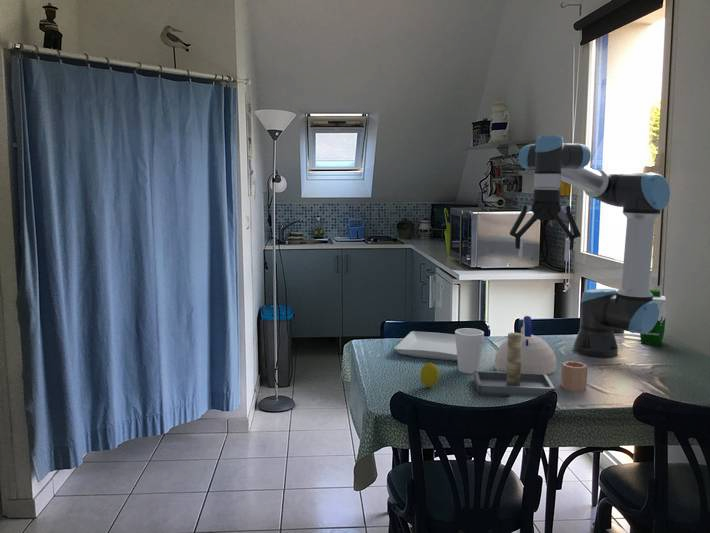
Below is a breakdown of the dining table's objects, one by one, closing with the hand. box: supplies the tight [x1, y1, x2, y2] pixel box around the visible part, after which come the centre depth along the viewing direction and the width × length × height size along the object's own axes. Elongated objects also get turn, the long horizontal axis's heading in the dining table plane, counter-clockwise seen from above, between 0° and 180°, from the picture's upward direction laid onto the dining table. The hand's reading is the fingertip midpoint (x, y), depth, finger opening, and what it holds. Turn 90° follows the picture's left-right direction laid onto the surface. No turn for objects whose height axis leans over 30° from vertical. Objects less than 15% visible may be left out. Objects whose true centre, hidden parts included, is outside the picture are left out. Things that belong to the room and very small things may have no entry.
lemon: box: [420, 361, 440, 389], centre depth 193 cm, size 6×6×8 cm
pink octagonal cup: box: [560, 360, 589, 392], centre depth 192 cm, size 7×7×8 cm
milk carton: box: [639, 289, 667, 346], centre depth 246 cm, size 9×9×20 cm
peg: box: [506, 332, 522, 386], centre depth 192 cm, size 4×4×16 cm
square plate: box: [393, 330, 458, 362], centre depth 233 cm, size 27×27×4 cm
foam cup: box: [454, 327, 485, 374], centre depth 210 cm, size 10×9×13 cm
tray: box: [473, 370, 556, 398], centre depth 193 cm, size 22×14×3 cm, turn 84°
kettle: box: [493, 315, 557, 375], centre depth 212 cm, size 20×21×18 cm
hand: (543, 260), depth 191 cm, fingers open, 13 cm apart
